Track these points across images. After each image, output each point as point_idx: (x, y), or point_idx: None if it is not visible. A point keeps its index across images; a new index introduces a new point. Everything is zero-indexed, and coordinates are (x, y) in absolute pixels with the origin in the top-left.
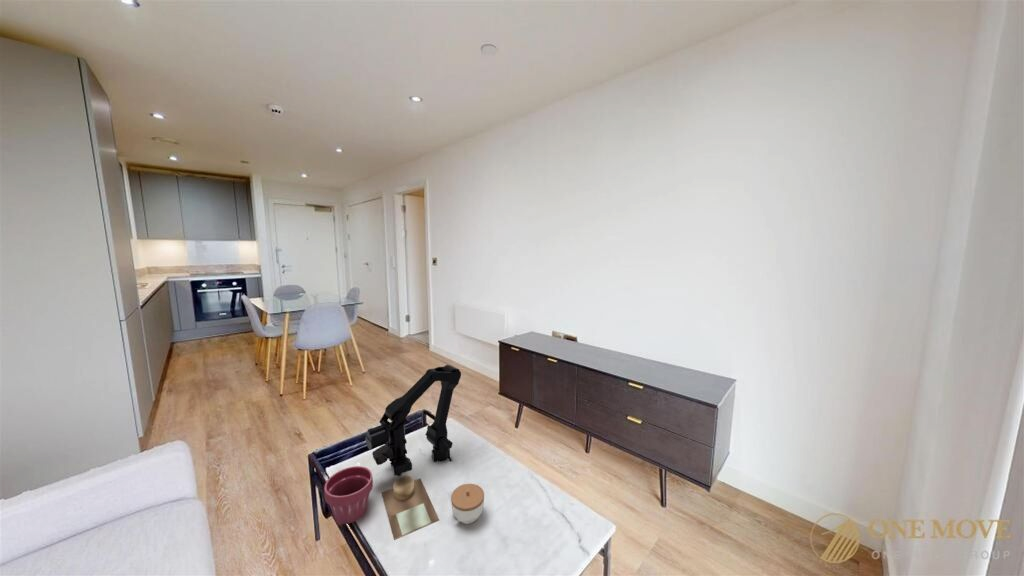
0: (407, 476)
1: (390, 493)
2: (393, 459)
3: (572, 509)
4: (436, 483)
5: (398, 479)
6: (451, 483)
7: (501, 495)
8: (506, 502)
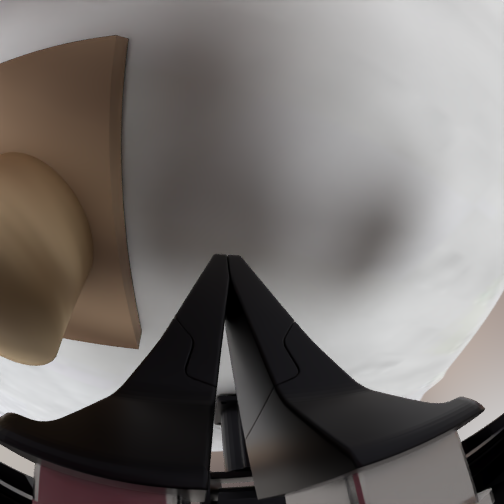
0: (49, 352)
1: (52, 126)
2: (309, 473)
3: None
4: (96, 364)
5: (15, 281)
6: (83, 387)
7: (26, 407)
8: (9, 400)
